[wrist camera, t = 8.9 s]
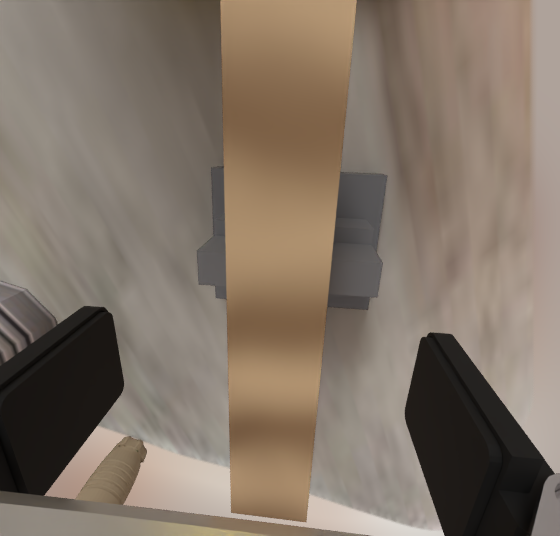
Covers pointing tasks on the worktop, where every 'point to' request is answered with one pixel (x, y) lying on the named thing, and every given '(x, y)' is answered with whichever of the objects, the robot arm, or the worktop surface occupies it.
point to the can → (20, 320)
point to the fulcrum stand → (346, 246)
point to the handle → (115, 473)
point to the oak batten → (279, 233)
